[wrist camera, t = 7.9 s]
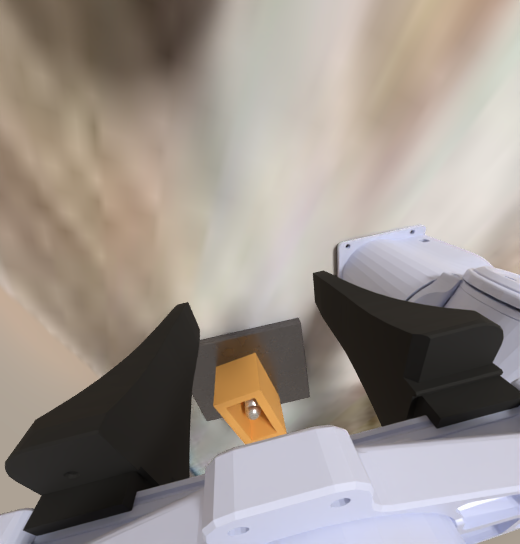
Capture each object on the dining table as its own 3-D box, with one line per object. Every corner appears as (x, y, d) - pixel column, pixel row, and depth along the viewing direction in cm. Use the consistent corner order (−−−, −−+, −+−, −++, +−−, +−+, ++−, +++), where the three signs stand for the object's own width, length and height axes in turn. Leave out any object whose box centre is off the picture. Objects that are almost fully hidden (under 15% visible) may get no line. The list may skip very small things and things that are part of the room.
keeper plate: (298, 317, 27) (313, 352, 22) (307, 390, 34) (320, 429, 29) (171, 346, 26) (158, 388, 22) (207, 414, 33) (203, 457, 29)
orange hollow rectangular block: (255, 352, 27) (260, 389, 23) (278, 396, 32) (286, 433, 27) (216, 366, 28) (213, 406, 23) (245, 407, 32) (247, 446, 28)
